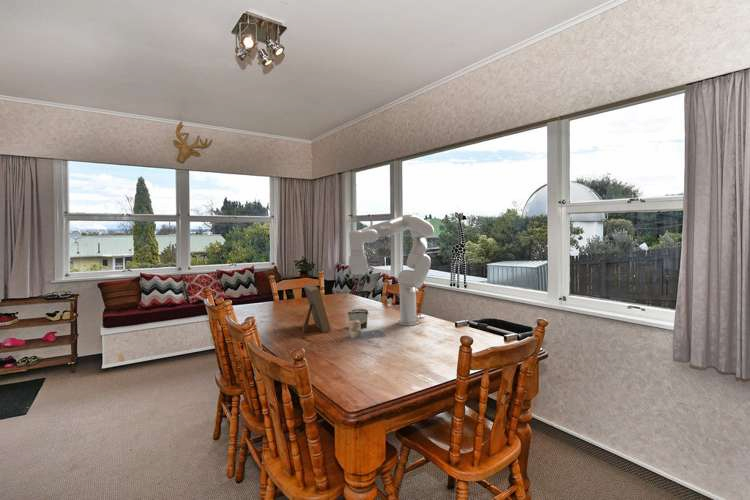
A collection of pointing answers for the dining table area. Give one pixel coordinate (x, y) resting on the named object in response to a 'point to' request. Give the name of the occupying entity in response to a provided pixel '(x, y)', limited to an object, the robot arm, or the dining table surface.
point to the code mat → (368, 335)
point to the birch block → (355, 329)
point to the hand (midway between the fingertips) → (359, 284)
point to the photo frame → (316, 308)
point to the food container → (359, 316)
